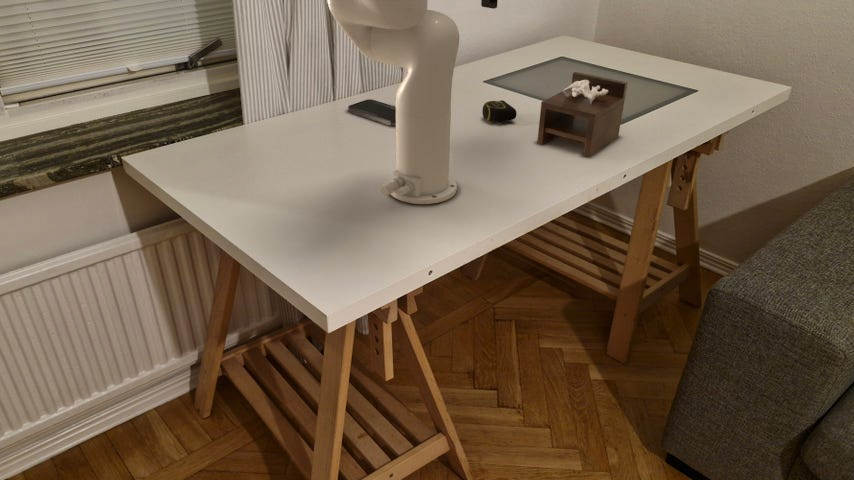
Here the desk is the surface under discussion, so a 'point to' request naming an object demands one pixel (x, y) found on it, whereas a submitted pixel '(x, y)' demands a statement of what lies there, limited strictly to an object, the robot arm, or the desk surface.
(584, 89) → the pelvis model
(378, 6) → the robot arm
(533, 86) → the desk surface
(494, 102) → the tape measure
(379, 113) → the phone
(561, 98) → the shelf
